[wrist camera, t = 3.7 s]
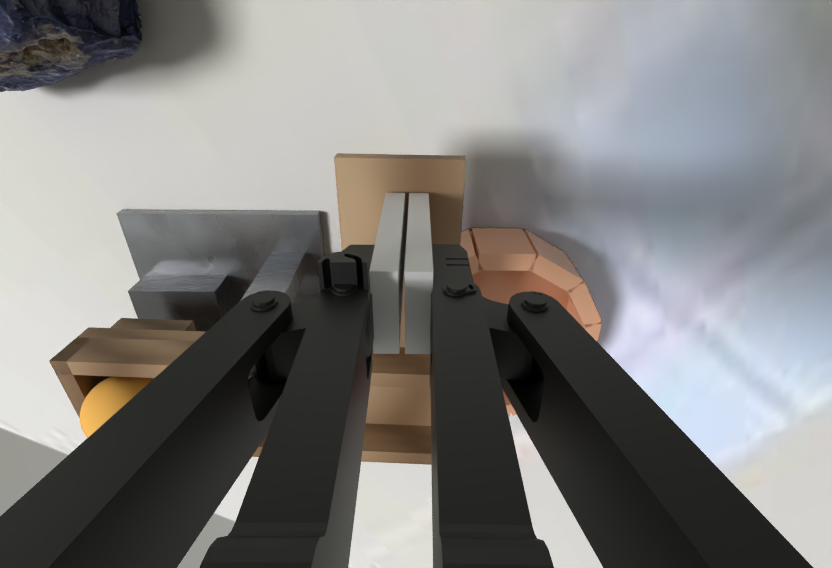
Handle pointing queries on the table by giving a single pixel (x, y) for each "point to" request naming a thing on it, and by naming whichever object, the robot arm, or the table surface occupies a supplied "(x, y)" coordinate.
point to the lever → (359, 220)
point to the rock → (62, 38)
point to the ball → (108, 400)
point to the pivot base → (219, 259)
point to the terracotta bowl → (527, 273)
